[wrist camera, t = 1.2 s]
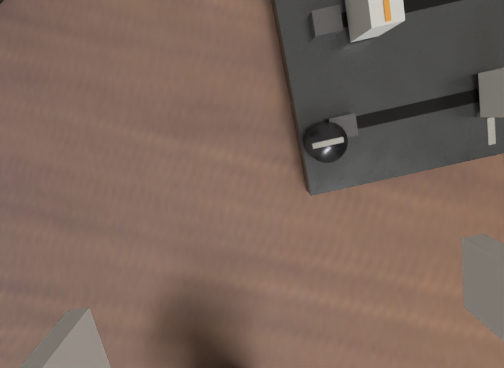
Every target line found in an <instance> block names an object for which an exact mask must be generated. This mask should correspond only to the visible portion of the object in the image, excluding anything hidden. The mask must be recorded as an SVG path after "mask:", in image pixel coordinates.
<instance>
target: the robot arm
mask: <svg viewBox="0 0 504 368" xmlns="http://www.w3.org/2000/svg"><path fill="white" fill-rule="evenodd" d="M2 1H3V0H0V3H1V2H2ZM462 261H463V300H464V308H466V309H467V310H468V311H469V312H470V313H471V314H472V315H474V316H475V317H476V318H477V319H478V320H479V321H480V322H482V323H483V324H484V325H485V326H486V327H487V328H489V329H490V330H491V331H492V332H493V333H494V334H495V335H497V336H498V337H499V338H500V339H501V340H502V341H503V342H504V244H503V243H501V242H499V241H497V240H495V239H493V238H491V237H489V236H487V235H485V234H480V235H474V236H469V237H463V238H462ZM19 368H110V365H109V362H108V359H107V357H106V354H105V351H104V348H103V345H102V342H101V339H100V337H99V334H98V331H97V328H96V325H95V322H94V320H93V317H92V314H91V311H90V308H89V307H88V308H83V309H77V310H72V311H67V313H66V314H65V315H64V316H63V317H62V318H61V320H60V321H59V322H58V323H57V324H56V325H55V326H54V328H53V329H52V330H51V331H50V332H49V333H48V334H47V336H46V337H45V338H44V339H43V340H42V341H41V343H40V344H39V345H38V346H37V347H36V348H35V349H34V351H33V352H32V353H31V354H30V355H29V356H28V358H27V359H26V360H25V361H24V362H23V363H22V364H21V366H20V367H19Z"/></svg>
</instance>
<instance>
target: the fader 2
mask: <svg viewBox="0 0 504 368" xmlns="http://www.w3.org/2000/svg"><path fill="white" fill-rule="evenodd" d="M478 81H479V100H480V117H504V67H503V68H499V69H494V70H490V71H486V72H481V73H478Z"/></svg>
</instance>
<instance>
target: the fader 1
mask: <svg viewBox="0 0 504 368" xmlns="http://www.w3.org/2000/svg"><path fill="white" fill-rule="evenodd" d="M345 6H346V13H347V20H348V27H349V34H350V42H355V41H360V40H364V39H368V38H373V37H377V36H380V35H381V34H383V33H385V32H387V31H388V30H390V29H392V28H393V27H395V26H397V25H398V24H400V23H402V22H403V21H405V13H404V3H403V0H345Z"/></svg>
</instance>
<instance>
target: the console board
mask: <svg viewBox="0 0 504 368" xmlns="http://www.w3.org/2000/svg"><path fill="white" fill-rule="evenodd" d="M271 1H272V6H273V11H274V17H275V22H276V27H277V33H278V38H279V44H280V49H281V54H282V60H283V65H284V70H285V76H286V81H287V86H288V92H289V97H290V102H291V108H292V113H293V118H294V124H295V129H296V134H297V140H298V145H299V150H300V156H301V161H302V166H303V172H304V177H305V182H306V188H307V191H308V192H309V194H310V195H311V196H312V195H316V194H321V193H325V192H330V191H334V190H339V189H343V188H348V187H353V186H357V185H362V184H366V183H371V182H375V181H380V180H384V179H389V178H393V177H398V176H402V175H407V174H411V173H416V172H420V171H425V170H429V169H434V168H438V167H443V166H447V165H452V164H456V163H461V162H465V161H470V160H474V159H479V158H483V157H488V156H493V155H497V154H502V153H504V117H480V100H479V81H478V73H481V72H486V71H490V70H494V69H499V68H503V67H504V0H403V3H404V13H405V21H403V22H402V23H400V24H398V25H397V26H395V27H393V28H392V29H390V30H388V31H387V32H385V33H383V34H381V35H380V36H377V37H373V38H368V39H364V40H360V41H355V42H350V34H349V27H348V20H347V13H346V6H345V0H271Z"/></svg>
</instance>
